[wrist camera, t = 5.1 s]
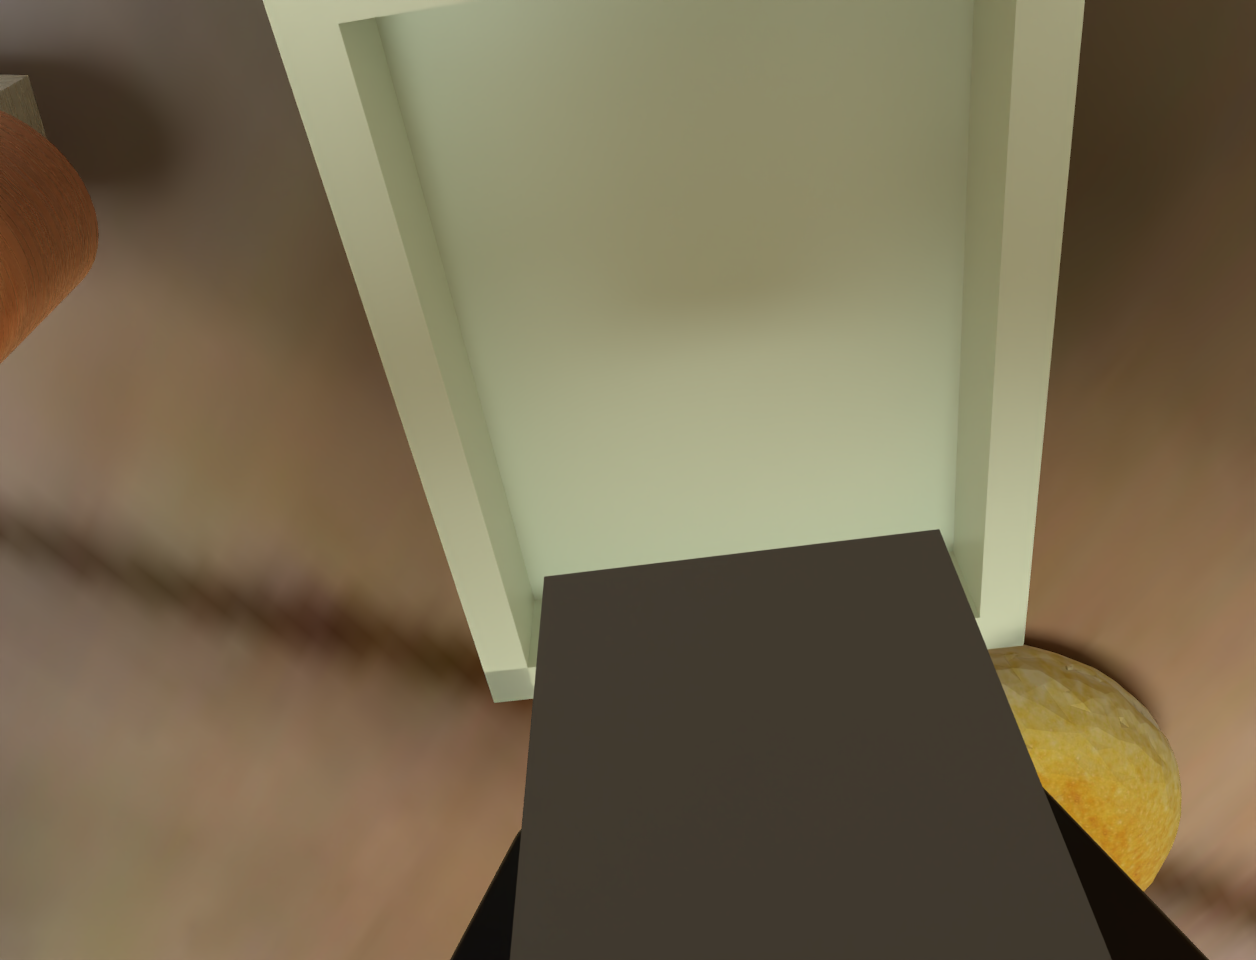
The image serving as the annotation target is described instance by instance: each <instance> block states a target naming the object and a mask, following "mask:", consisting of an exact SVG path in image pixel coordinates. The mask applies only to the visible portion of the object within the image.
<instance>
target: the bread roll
mask: <svg viewBox="0 0 1256 960" xmlns="http://www.w3.org/2000/svg"><path fill="white" fill-rule="evenodd" d="M988 652H989V654H990V657H991V659H992V662H993V664H994V667H995V669H996V672H997V674H998V677H999V679H1000V682H1001V684H1002V687H1003V689H1004V692H1005V694H1006V697H1007V699H1008V702H1009V704H1010V707H1011V709H1012V712H1013V714H1014V717H1015V719H1016V722H1017V724H1018V727H1019V729H1020V732H1021V734H1022V737H1023V739H1024V742H1025V744H1026V747H1027V749H1028V752H1029V754H1030V757H1031V759H1032V762H1033V764H1034V767H1035V769H1036V772H1037V774H1038V777H1039V779H1040V782H1041V784H1042V787H1043V788H1044V789H1045V790H1046V791H1047V792H1048V793H1049V794H1050V795H1051V796H1052V797H1053V798H1054V799H1055V800H1056V801H1057V802H1058V803H1059V804H1060V805H1061V806H1062V807H1063V808H1064V809H1065V811H1066V812H1067V813H1068V814H1069V815H1070V816H1071V817H1072V818H1073V819H1074V820H1075V821H1076V822H1077V823H1078V824H1079V825H1080V826H1081V827H1082V828H1083V829H1084V830H1085V831H1086V832H1087V833H1088V834H1089V835H1090V837H1091V838H1092V839H1093V840H1094V841H1095V842H1096V843H1097V844H1098V845H1099V846H1100V847H1101V848H1102V849H1103V850H1104V851H1105V852H1106V853H1107V854H1108V855H1109V856H1110V857H1111V858H1112V859H1113V860H1114V862H1115V863H1116V864H1117V865H1118V866H1119V867H1120V868H1121V869H1122V870H1123V871H1124V872H1125V873H1126V874H1127V875H1128V876H1129V877H1130V878H1131V879H1132V880H1133V881H1134V882H1135V883H1136V884H1137V885H1138V886H1139V888H1140V889H1141V890H1142V891H1143V892H1144V891H1145V890H1146V889H1147V888H1148V886H1149V885H1150V884H1151V883H1152V882H1153V880H1154V878H1155V876H1156V875H1157V873H1158V871H1159V870H1160V868H1161V866H1162V864H1163V863H1164V861H1165V859H1166V857H1167V855H1168V854H1169V852H1170V849H1171V847H1172V845H1173V842H1174V840H1175V837H1176V834H1177V830H1178V826H1179V821H1180V816H1181V782H1180V776H1179V770H1178V765H1177V762H1176V759H1175V756H1174V753H1173V751H1172V749H1171V746H1170V744H1169V742H1168V740H1167V738H1166V737H1165V736H1164V735H1163V733H1162V732H1161V731H1160V729H1159V726H1158V724H1157V723H1156V721H1155V720H1154V718H1153V717H1152V715H1151V714H1150V713H1149V711H1148V710H1147V708H1145V707H1144V706H1143V705H1142V704H1141V703H1140V702H1139V701H1138V700H1137V699H1136V698H1135V697H1134V696H1132V695H1131V694H1130V693H1129V692H1127V691H1126V690H1125V689H1123V688H1122V687H1121V686H1120V685H1119V684H1118V683H1117V682H1116V681H1114V680H1113V679H1111V678H1109V677H1108V676H1106V675H1105V674H1103V673H1102V672H1100V671H1098V670H1097V669H1095V668H1093V667H1091V666H1088V665H1086V664H1083V663H1080V662H1078V661H1075V660H1073V659H1070V658H1068V657H1065V656H1063V655H1060V654H1057V653H1054V652H1051V651H1047V650H1043V649H1040V648H1036V647H1032V646H1028V645H1023V646H1014V647H1005V648H995V649H988Z"/></svg>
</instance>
